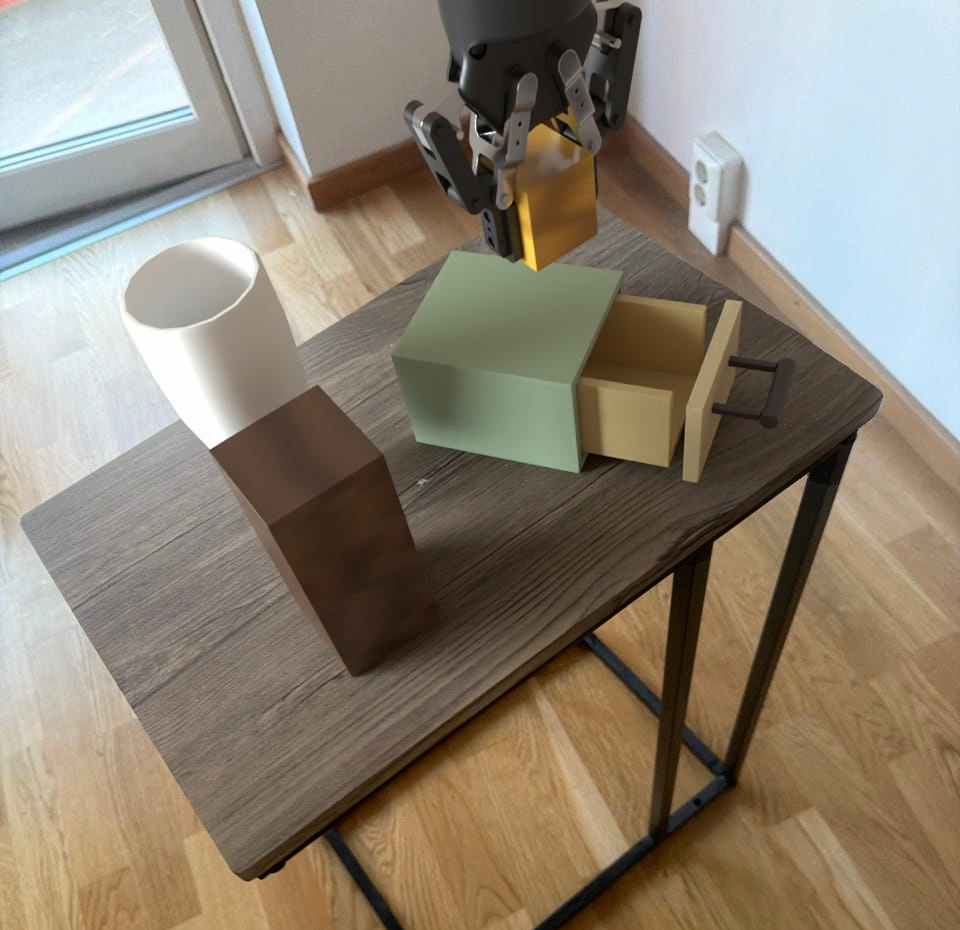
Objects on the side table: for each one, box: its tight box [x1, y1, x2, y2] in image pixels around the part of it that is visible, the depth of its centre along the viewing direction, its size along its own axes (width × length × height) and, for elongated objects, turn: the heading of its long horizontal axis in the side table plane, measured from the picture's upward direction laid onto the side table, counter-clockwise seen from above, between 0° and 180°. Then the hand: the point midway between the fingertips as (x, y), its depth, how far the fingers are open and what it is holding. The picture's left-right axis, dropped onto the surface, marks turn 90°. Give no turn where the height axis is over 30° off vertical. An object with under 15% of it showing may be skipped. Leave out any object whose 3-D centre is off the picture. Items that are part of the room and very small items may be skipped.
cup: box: [119, 235, 310, 449], centre depth 69 cm, size 10×10×22 cm
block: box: [513, 123, 599, 272], centre depth 53 cm, size 5×5×5 cm
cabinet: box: [390, 249, 625, 474], centre depth 76 cm, size 15×13×10 cm
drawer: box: [576, 294, 797, 484], centre depth 72 cm, size 18×11×8 cm, turn 68°
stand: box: [208, 384, 441, 678], centre depth 63 cm, size 8×8×18 cm
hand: (544, 232), depth 55 cm, fingers closed on block, 4 cm apart
